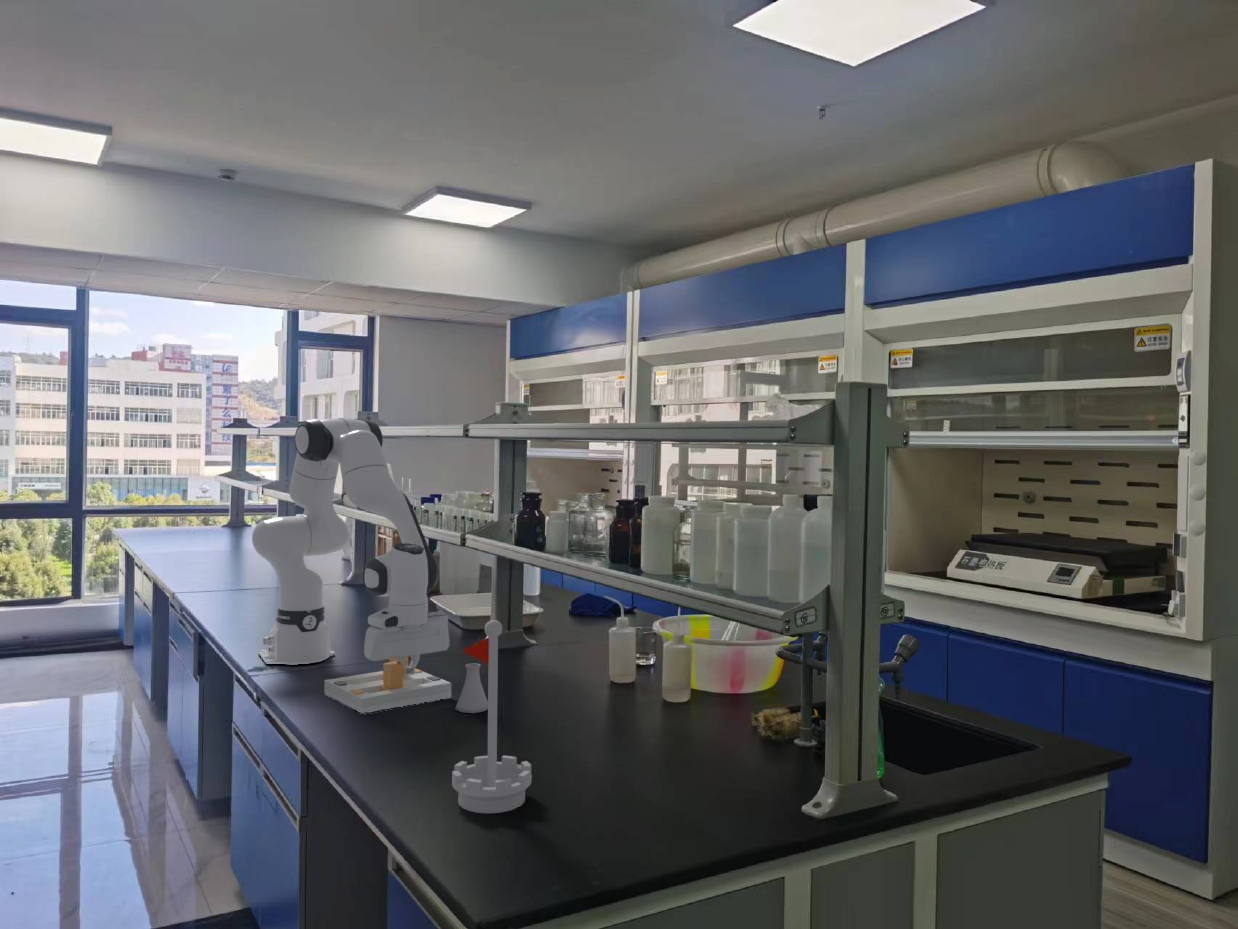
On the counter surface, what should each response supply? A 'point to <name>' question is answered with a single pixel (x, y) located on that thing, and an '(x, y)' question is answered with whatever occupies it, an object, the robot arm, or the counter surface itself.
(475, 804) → the flag stand
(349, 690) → the switch box
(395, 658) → the tab
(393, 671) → the tab
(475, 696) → the flask
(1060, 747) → the counter surface
